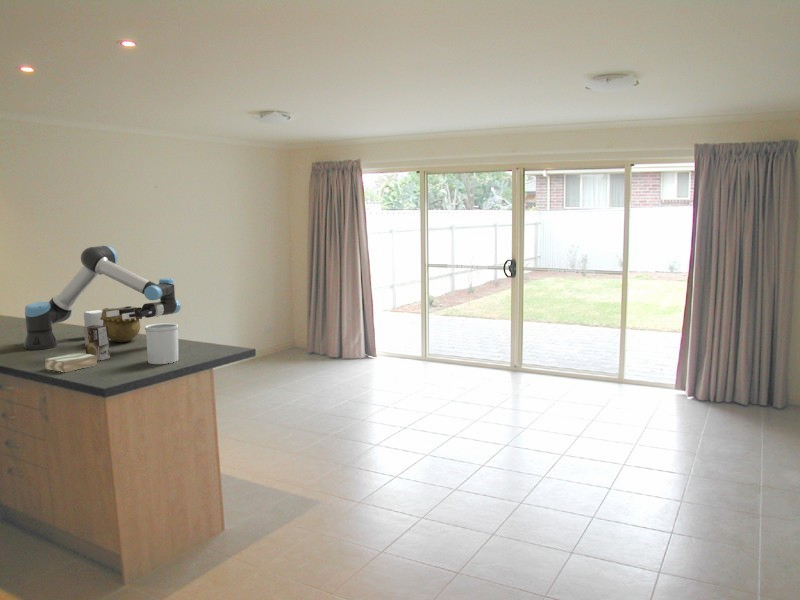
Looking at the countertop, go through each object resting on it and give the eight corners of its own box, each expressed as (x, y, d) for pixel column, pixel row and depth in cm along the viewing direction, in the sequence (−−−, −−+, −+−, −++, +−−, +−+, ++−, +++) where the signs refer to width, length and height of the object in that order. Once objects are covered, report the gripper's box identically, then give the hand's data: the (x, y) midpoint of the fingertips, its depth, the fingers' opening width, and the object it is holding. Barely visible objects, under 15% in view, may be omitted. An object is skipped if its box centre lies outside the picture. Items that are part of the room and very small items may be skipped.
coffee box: (110, 358, 300) (108, 325, 298) (100, 360, 294) (98, 328, 292) (96, 356, 303) (93, 324, 301) (85, 359, 297) (83, 326, 295)
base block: (45, 369, 278) (44, 358, 277) (78, 362, 292) (77, 351, 291) (64, 373, 271) (63, 362, 270) (97, 365, 285) (96, 355, 284)
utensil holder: (154, 357, 301) (152, 322, 299) (184, 357, 301) (182, 322, 298) (141, 364, 287) (139, 328, 284) (172, 365, 286) (170, 328, 284)
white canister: (107, 337, 350) (106, 311, 348) (91, 339, 343) (89, 313, 341) (101, 334, 356) (99, 309, 354) (85, 337, 349) (83, 311, 347)
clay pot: (99, 340, 341) (96, 305, 338) (139, 336, 353) (137, 302, 350) (104, 347, 324) (102, 310, 321) (147, 342, 335) (144, 306, 332)
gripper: (167, 318, 315) (129, 325, 297) (138, 314, 328) (100, 320, 311) (166, 304, 314) (128, 310, 296) (137, 301, 327) (99, 306, 310)
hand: (114, 315), depth 304 cm, fingers open, 13 cm apart
